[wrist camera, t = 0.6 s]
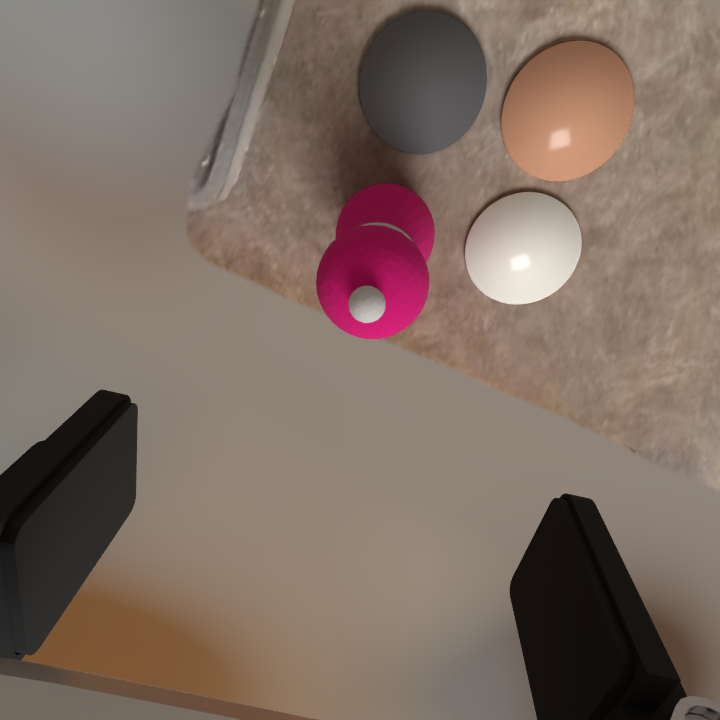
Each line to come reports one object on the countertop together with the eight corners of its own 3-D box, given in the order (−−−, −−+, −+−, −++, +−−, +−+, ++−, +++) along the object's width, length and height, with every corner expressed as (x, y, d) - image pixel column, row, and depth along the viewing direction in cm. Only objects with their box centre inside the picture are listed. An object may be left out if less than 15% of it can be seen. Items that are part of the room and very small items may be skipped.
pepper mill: (451, 228, 41) (476, 321, 23) (382, 283, 44) (358, 405, 26) (394, 155, 39) (373, 196, 21) (325, 217, 42) (256, 300, 24)
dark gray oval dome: (501, 24, 35) (502, 22, 34) (467, 163, 39) (468, 164, 38) (371, 2, 35) (370, 0, 34) (352, 141, 39) (350, 142, 39)
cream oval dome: (596, 203, 39) (599, 205, 39) (555, 310, 44) (558, 313, 43) (481, 180, 40) (483, 182, 39) (452, 289, 44) (453, 292, 43)
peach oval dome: (652, 55, 35) (656, 54, 34) (601, 190, 39) (604, 191, 38) (522, 30, 35) (524, 28, 34) (485, 167, 39) (486, 168, 38)
